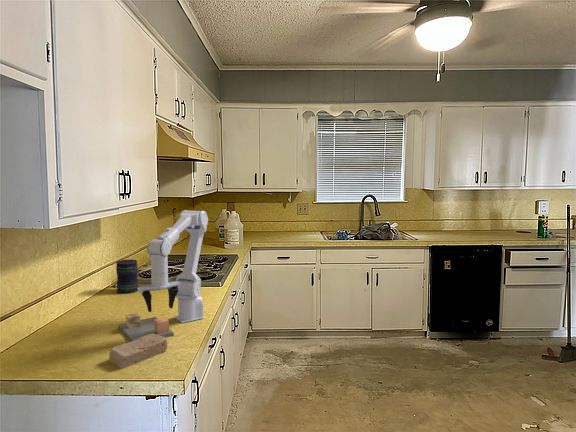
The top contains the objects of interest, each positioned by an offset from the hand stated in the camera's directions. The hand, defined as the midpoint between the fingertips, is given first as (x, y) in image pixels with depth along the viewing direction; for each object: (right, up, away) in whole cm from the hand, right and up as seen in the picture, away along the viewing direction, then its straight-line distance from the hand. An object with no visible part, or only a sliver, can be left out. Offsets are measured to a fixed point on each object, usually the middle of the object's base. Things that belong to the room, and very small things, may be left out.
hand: (160, 309), depth 150 cm
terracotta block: (0, -8, +1) cm, 8 cm away
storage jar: (-33, -4, +56) cm, 65 cm away
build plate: (-7, -9, +4) cm, 12 cm away
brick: (-2, -12, -17) cm, 20 cm away
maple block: (-12, -8, +6) cm, 16 cm away
